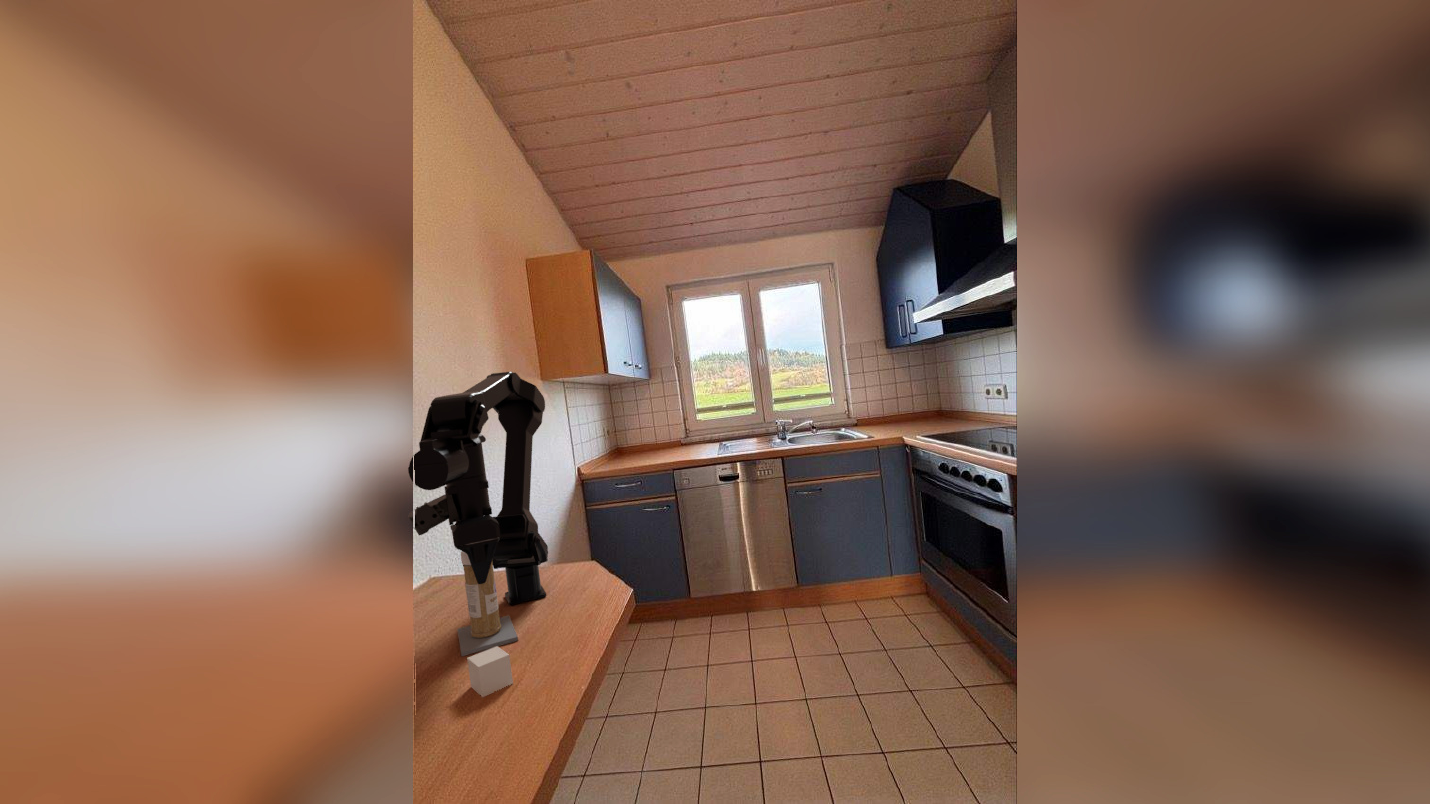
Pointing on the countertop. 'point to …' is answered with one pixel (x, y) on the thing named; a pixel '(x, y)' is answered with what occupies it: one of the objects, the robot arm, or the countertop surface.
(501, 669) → the light grey block
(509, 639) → the grey mat
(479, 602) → the sprinkles bottle
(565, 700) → the countertop surface
